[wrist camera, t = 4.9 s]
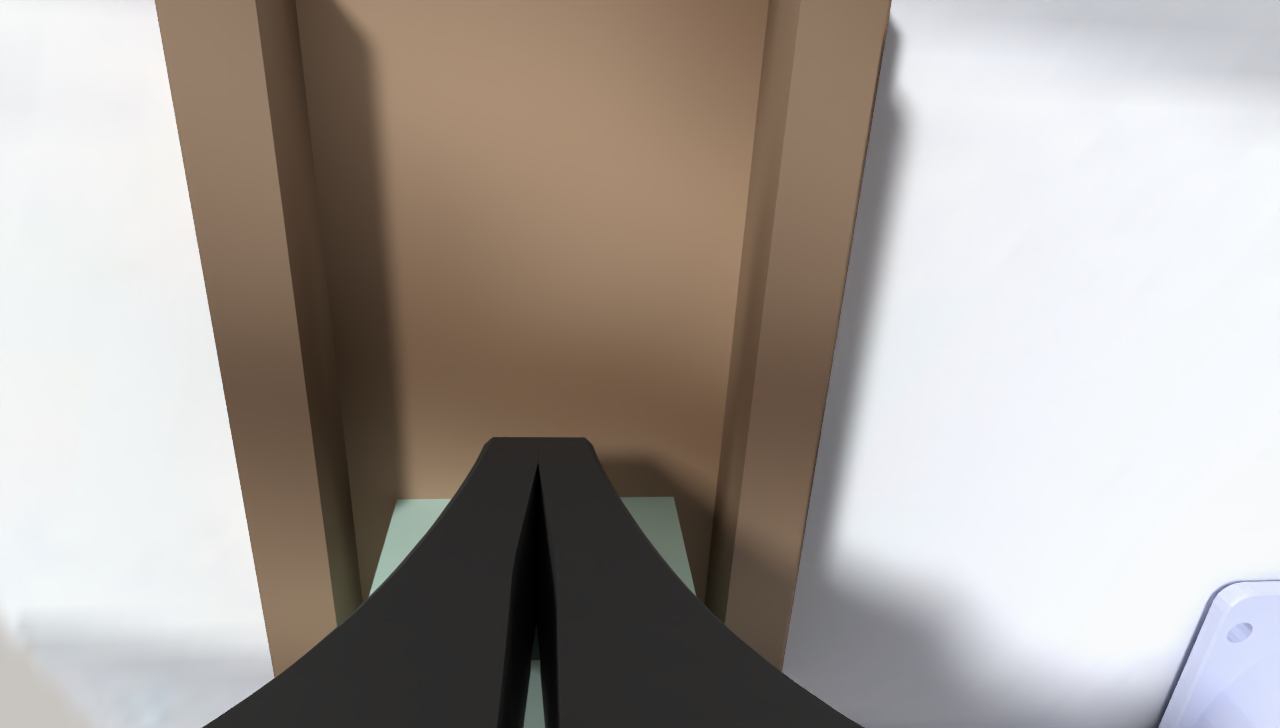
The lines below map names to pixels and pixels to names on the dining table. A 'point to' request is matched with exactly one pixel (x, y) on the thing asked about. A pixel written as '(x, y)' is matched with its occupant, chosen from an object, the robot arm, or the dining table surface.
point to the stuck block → (658, 527)
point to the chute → (523, 263)
